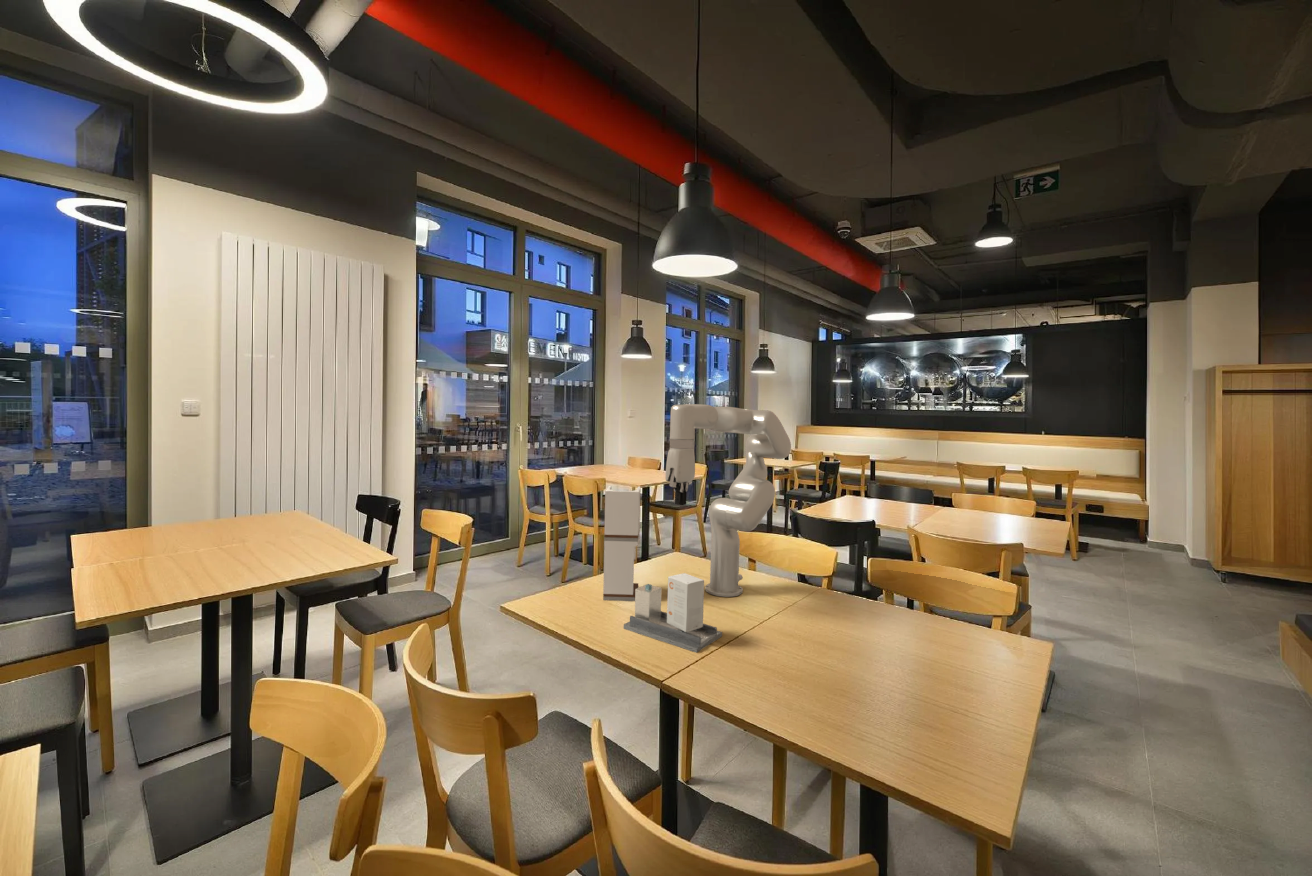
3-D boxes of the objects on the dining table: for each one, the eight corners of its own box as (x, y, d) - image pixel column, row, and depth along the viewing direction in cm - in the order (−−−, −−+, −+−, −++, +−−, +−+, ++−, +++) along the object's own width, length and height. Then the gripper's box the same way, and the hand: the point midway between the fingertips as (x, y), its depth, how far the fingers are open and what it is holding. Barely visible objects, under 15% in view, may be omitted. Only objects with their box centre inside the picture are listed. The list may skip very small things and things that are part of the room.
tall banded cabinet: (636, 601, 178) (639, 492, 176) (603, 600, 178) (605, 491, 176) (638, 589, 189) (640, 486, 187) (606, 588, 190) (608, 485, 187)
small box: (703, 627, 151) (705, 579, 150) (686, 633, 147) (687, 584, 146) (683, 618, 157) (684, 572, 156) (665, 623, 153) (667, 576, 152)
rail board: (651, 615, 167) (652, 577, 166) (721, 636, 152) (723, 594, 152) (623, 628, 156) (624, 588, 155) (696, 652, 142) (697, 608, 141)
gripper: (685, 443, 179) (683, 499, 181) (657, 445, 167) (656, 506, 168) (705, 444, 175) (703, 502, 176) (678, 446, 163) (676, 509, 164)
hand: (680, 504), depth 172 cm, fingers closed
